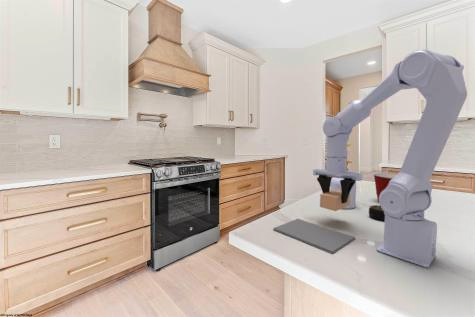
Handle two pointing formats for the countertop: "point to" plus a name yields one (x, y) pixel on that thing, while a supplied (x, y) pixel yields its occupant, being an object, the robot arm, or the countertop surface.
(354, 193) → the soap bottle
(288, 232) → the mat
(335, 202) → the card case
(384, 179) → the plastic cup
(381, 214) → the tape measure
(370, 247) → the countertop surface
